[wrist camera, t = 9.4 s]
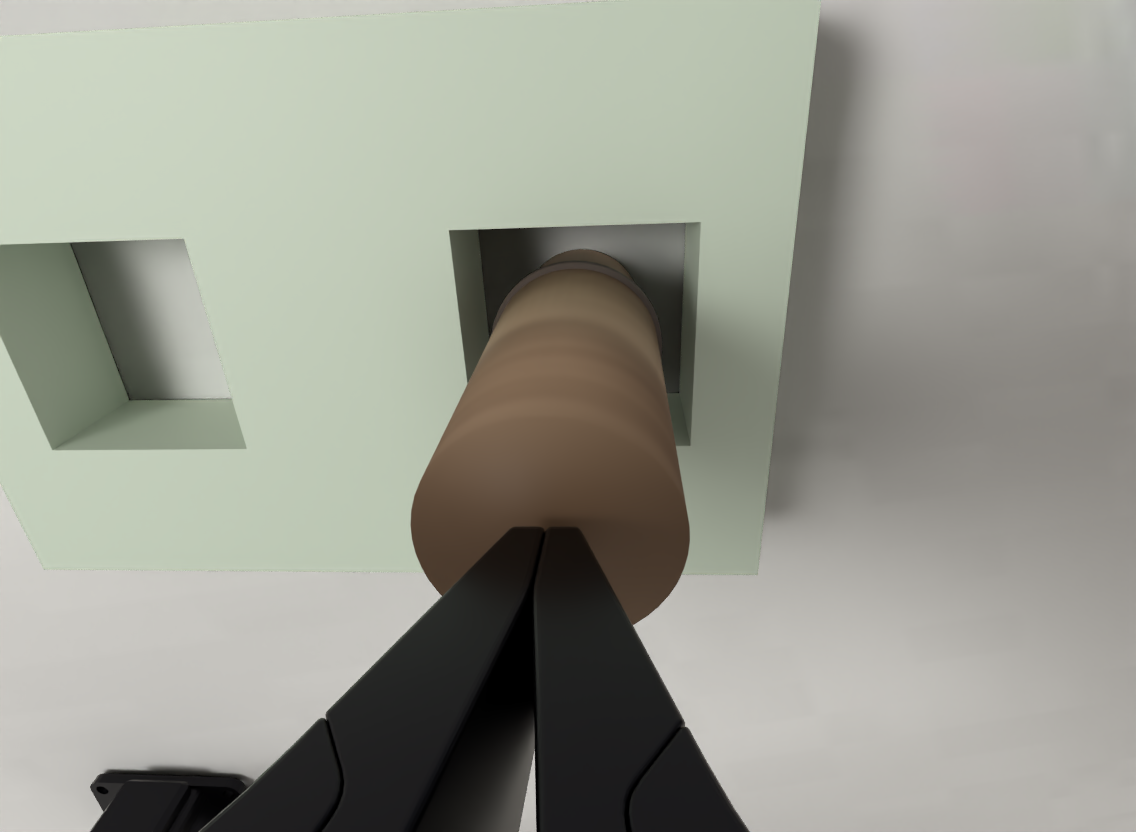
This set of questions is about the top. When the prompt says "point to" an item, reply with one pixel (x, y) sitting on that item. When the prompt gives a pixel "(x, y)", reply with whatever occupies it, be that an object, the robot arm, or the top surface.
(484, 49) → the board
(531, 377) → the peg
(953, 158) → the top surface
